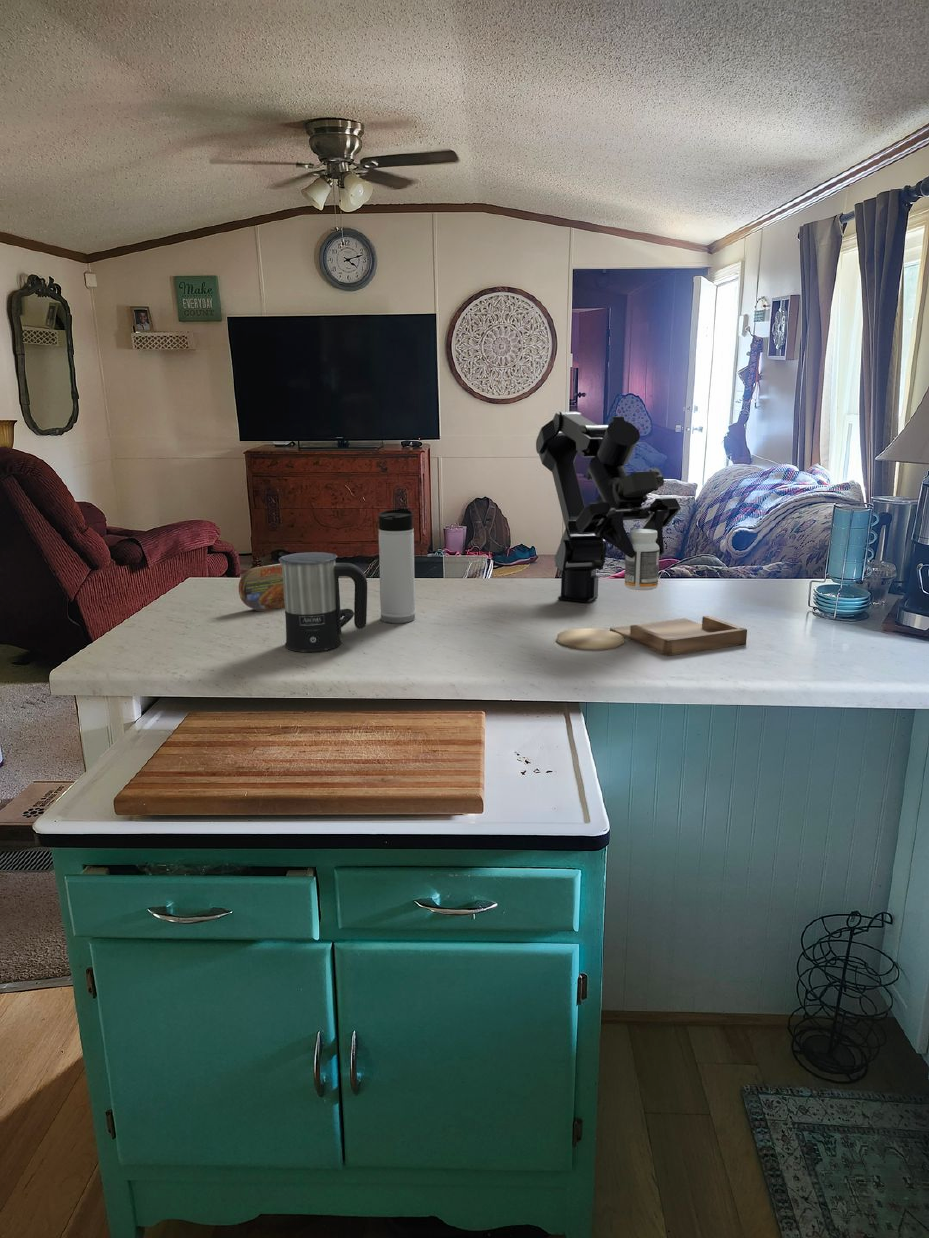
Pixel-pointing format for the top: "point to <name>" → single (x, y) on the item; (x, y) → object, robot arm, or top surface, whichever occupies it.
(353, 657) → the top surface
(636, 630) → the tray
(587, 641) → the cork mat
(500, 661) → the top surface
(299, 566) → the milk frother
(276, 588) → the tin
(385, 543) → the travel mug
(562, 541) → the robot arm
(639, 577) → the pill bottle
